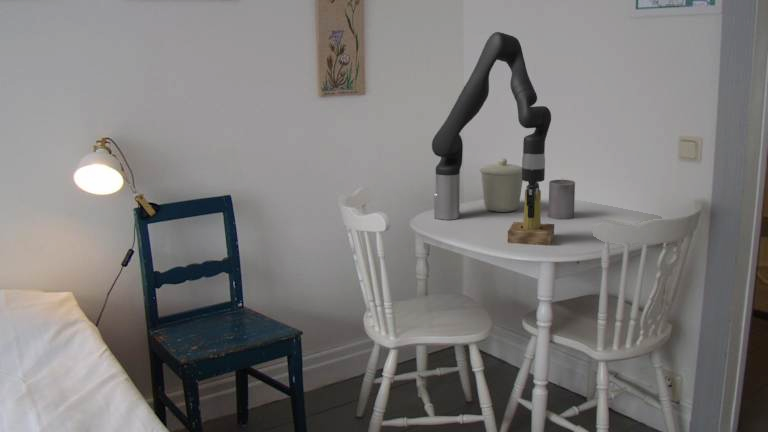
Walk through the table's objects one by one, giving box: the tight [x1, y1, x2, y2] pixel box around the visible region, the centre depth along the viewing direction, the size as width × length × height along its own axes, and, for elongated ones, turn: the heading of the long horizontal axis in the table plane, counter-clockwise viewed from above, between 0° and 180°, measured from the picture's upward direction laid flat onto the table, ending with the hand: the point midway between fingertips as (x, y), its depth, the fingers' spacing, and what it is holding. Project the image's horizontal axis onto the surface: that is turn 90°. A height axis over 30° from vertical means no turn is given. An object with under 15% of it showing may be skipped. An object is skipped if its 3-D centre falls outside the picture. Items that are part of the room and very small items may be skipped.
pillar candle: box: [547, 178, 576, 220], centre depth 282 cm, size 10×10×15 cm
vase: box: [522, 189, 542, 230], centre depth 250 cm, size 6×6×14 cm
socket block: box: [507, 221, 555, 246], centre depth 251 cm, size 14×14×4 cm
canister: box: [479, 157, 524, 213], centre depth 295 cm, size 18×18×21 cm
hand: (531, 215), depth 250 cm, fingers closed on vase, 5 cm apart
